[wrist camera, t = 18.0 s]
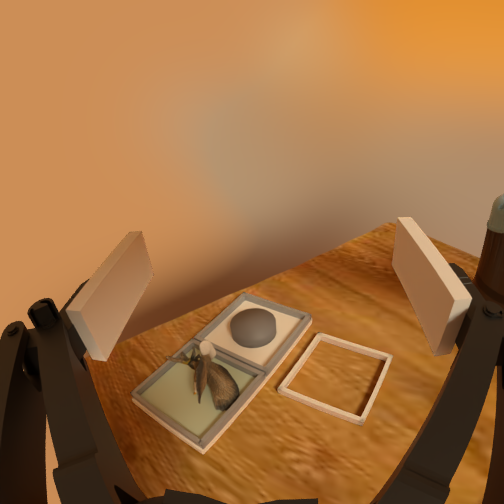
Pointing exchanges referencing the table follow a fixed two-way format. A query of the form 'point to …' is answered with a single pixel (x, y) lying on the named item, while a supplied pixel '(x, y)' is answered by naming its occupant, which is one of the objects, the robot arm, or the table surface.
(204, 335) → the tray
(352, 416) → the white square frame
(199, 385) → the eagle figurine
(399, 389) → the table surface
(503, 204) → the robot arm
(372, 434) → the table surface
